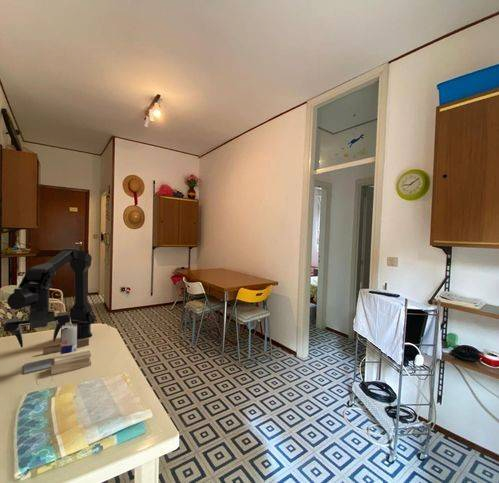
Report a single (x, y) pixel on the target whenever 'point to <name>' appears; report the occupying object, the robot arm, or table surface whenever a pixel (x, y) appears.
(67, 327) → the energy drink
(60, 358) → the offcut stack
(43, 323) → the robot arm
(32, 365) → the slate pad
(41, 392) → the table surface
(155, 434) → the table surface
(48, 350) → the walnut back board
